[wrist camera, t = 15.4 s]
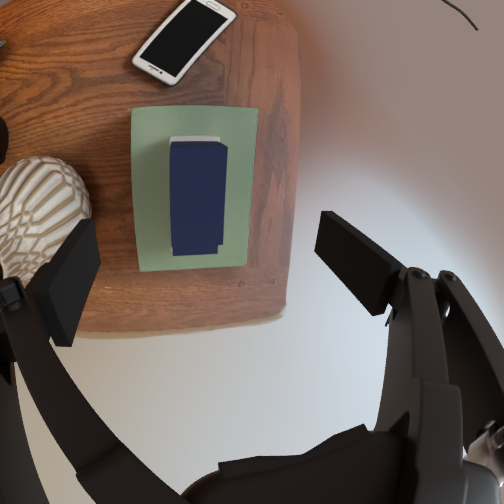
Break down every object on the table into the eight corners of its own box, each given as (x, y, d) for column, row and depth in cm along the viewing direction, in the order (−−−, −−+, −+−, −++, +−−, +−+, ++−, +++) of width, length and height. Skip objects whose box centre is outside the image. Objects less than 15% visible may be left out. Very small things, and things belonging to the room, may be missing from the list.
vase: (114, 237, 38) (80, 327, 21) (35, 257, 35) (-18, 338, 18) (90, 135, 30) (17, 156, 13) (8, 167, 27) (-75, 212, 10)
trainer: (170, 135, 27) (167, 140, 20) (217, 135, 28) (230, 140, 21) (171, 244, 33) (171, 280, 26) (213, 242, 34) (224, 277, 27)
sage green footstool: (242, 110, 35) (258, 108, 28) (234, 240, 44) (246, 265, 37) (141, 110, 31) (131, 107, 24) (144, 244, 40) (139, 271, 33)
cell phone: (239, 16, 27) (240, 14, 26) (173, 90, 31) (173, 89, 30) (196, -9, 24) (196, -12, 23) (128, 64, 27) (127, 63, 26)
